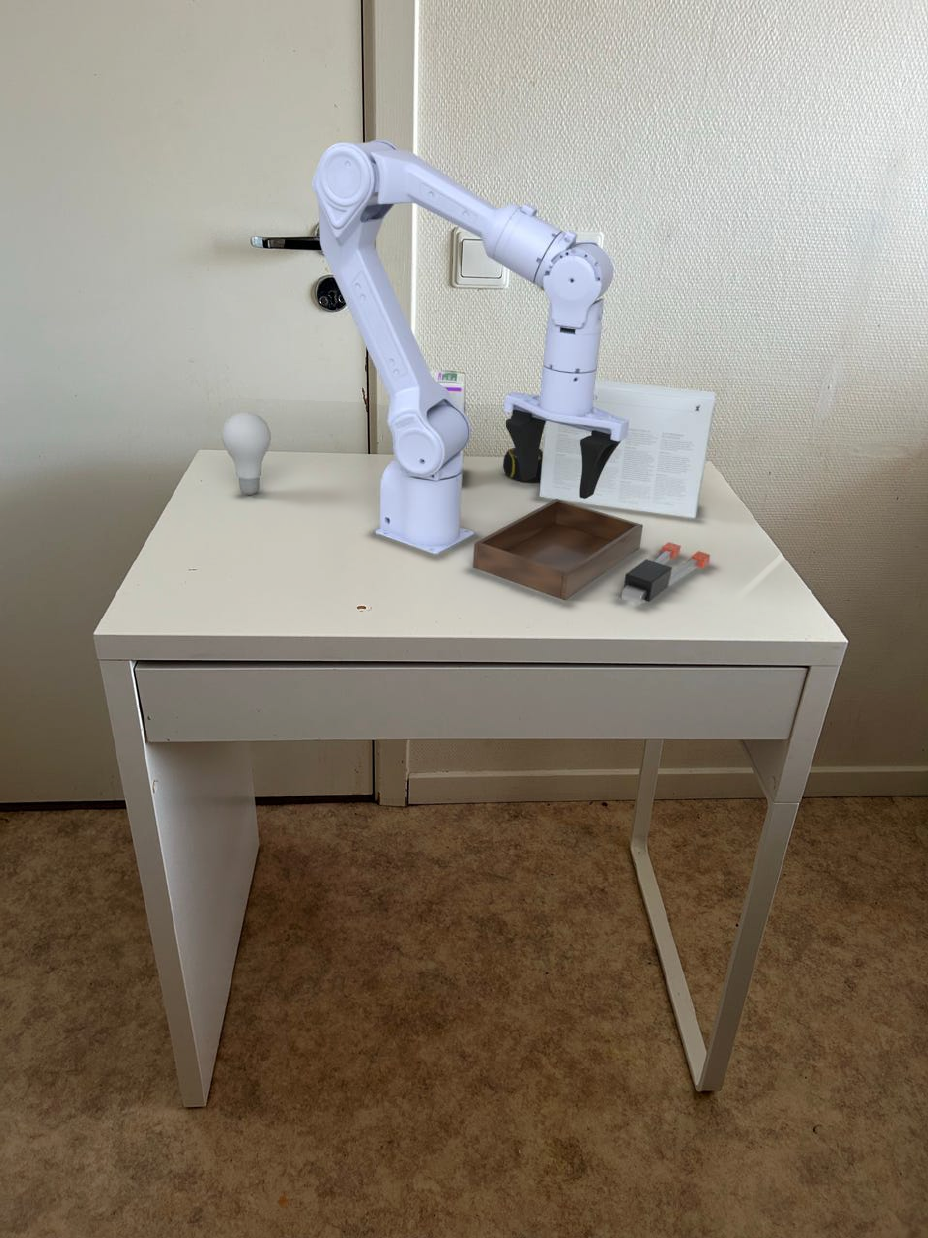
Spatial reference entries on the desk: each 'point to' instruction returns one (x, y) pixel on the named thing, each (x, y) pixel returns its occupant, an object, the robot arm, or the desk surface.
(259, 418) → the lightbulb
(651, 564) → the tongs
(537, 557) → the tray
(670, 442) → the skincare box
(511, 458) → the tape measure
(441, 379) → the syrup box
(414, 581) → the desk surface
